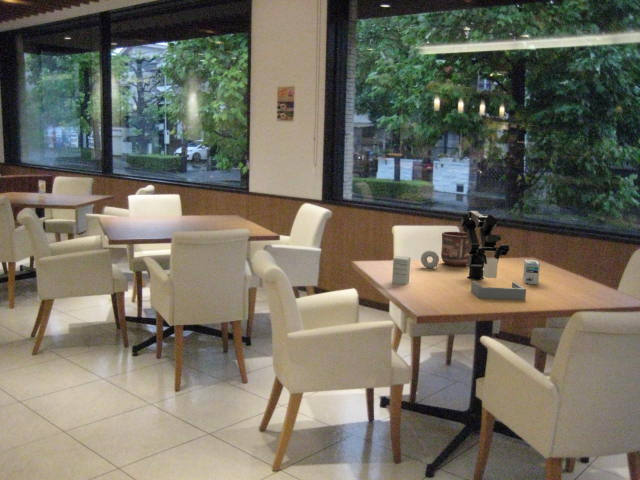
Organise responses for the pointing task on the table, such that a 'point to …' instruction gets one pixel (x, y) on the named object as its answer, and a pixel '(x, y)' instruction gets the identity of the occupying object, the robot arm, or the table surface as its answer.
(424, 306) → the table surface
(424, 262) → the grey ring
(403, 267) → the supplement box
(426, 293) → the table surface
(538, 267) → the light bulb box
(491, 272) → the cream block
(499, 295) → the open-front crate
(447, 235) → the pottery
